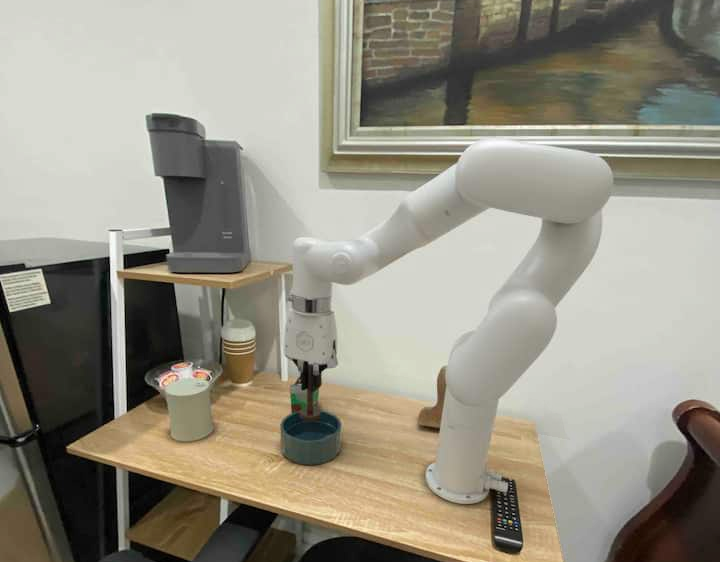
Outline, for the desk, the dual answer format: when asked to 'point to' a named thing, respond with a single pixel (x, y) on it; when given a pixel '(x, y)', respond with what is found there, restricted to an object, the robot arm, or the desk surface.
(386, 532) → the desk surface
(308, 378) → the brown peg stand
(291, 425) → the bowl
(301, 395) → the food container
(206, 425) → the can
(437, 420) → the brown wooden bookend
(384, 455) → the desk surface
